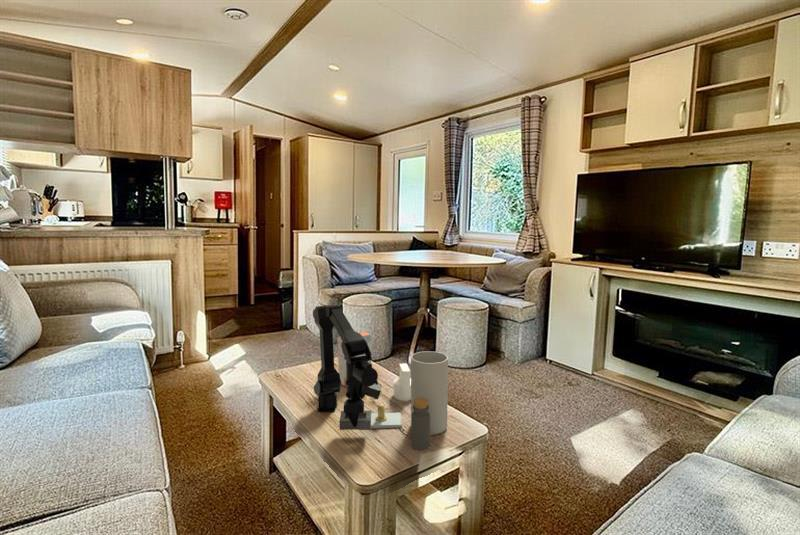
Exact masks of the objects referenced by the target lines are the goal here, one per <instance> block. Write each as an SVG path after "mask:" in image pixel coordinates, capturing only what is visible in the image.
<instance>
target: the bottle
mask: <svg viewBox="0 0 800 535" xmlns="http://www.w3.org/2000/svg"><path fill="white" fill-rule="evenodd" d="M413 402H414V405H413V410H414V412H412V418H411V417H410V426H411V428H410V431H411V442H410V443H411V447H412V449H413V450H416V451H425V450H426V451H427V450H428V449H430V445H431V444H430V443H431V435H430V414H429V412H427V411H428V410H429V406H428V400H427V399H425V398H416V399H414V400H413Z"/></svg>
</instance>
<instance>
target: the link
mask: <svg viewBox="0 0 800 535" xmlns="http://www.w3.org/2000/svg"><path fill="white" fill-rule="evenodd" d="M371 413H372V410H364V412H363V413H360V414H359V417H358V422H357V427H353V425H352V423H351V421H350V419H349V417H348V415H347V414H346V413H344V410H341V412H340V417H339V422H338V423H339V431H345V430H346V431H348V430H349V431H350V430H351V431H352V430H356V431H357V430H371V429H372V428H371Z"/></svg>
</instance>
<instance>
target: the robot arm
mask: <svg viewBox="0 0 800 535" xmlns="http://www.w3.org/2000/svg"><path fill="white" fill-rule="evenodd" d="M312 318H313V319H314V323H315V325H316V327H318V329H319V344H320V346H319V347H320V348H319V349H320V362H321V365H320V370H319V372H318V373H317V376H316V377H317V380H316V382H315V384H314V386H313V393H314V394H315V395H316V396H317V401H318V402H317V403H318V404H317V405H318V406H317V407H318V408H317V412H318V413H321V412H322V413H323V412H324V413H325V412H335V411H336V409H337V408H338V394H337V393H340V391H341V380H340V374H339V371H338V370H337V369H336V368H335V354H334V333H333V331H334V330H333V329H334V328H335V330H336V332H337V334H338V335H339V336H338V337H341V340H342V344H341V348H342V352H343V354H344V356H345V357H344V359H345V360H346V388H345V389H346V391H345V397H346V398H347V399H346V400H345V401H344V403H343V411H344V413H346V414H347V415H348V417H349V419H350V421H351V423H352V425H353V427H357V422H358V417H359V414H360V413H363V412H364V411H365V401H364V400H363V399H364V398H365V397H370V398H373V399H374V400H379V398H380V395H381V392H382V386H381V384H379V380H378V378H379V374H378V371H377V369H375V368H374V367H373V364H371V363H372V362H371V363H368V361H370V360H371V361H373V358H372V351H371V352H370V349H369V347H368V344H367V342H366V340H365V339H364V338H363V337H362V335H361V334H360V333H361V332H357V331H355V330H354V328H353V327H352V325H351V323H350V322H349V319H348V318H347V316H346V315H345V313H344V311H343V308H342V305H340V304H327V305H326V304H325V305H319V306H316V307H315V308H314V309H313V310H312ZM364 354H365V356H360V357H357V356H358V355H364Z"/></svg>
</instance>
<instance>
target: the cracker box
mask: <svg viewBox="0 0 800 535" xmlns="http://www.w3.org/2000/svg"><path fill="white" fill-rule="evenodd" d="M359 333H360V334H361V335H362V337H363V338H364V339H365V340H366V342H367V344H368V347H369V349H370V352H371V353H372V334H371V333H368V332H366V331H363V332H359ZM336 340H337V362H338V363H337V364H338V365H337V366H338V370H337V371H338V373H339V374H340V380H341V385H342V386H343V387H346V360H345V359H344V357H345V356H344V354H343V352H342V348H341V344H342V340H341V337H340V336H337V339H336ZM360 356H365V354H364V355H358V356H357V357H360ZM368 363H371V364H372V363H373V362H372V360H370V361H368ZM372 365H373V364H372Z"/></svg>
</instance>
